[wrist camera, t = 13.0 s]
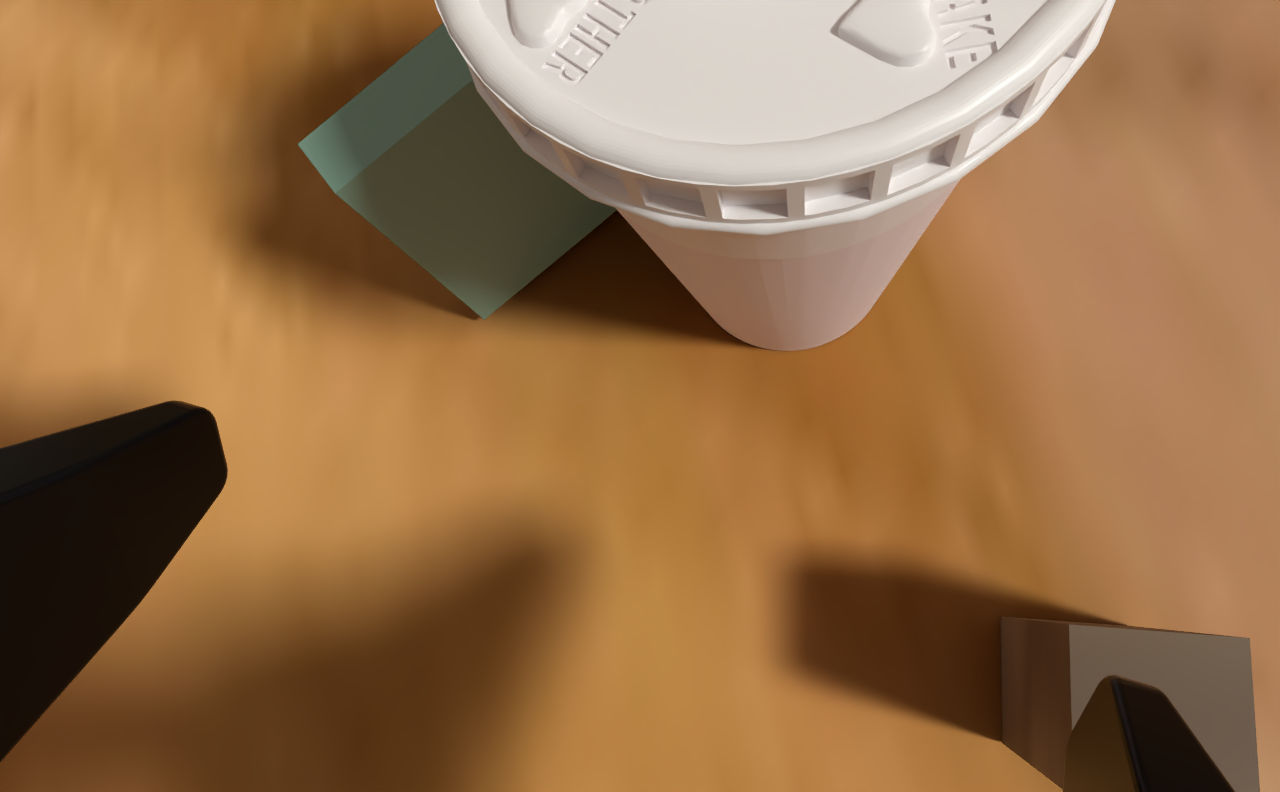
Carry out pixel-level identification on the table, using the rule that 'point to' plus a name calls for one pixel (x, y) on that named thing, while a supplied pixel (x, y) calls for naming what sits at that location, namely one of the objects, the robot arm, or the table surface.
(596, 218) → the green block
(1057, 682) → the brown block
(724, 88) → the smoothie
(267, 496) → the table surface
